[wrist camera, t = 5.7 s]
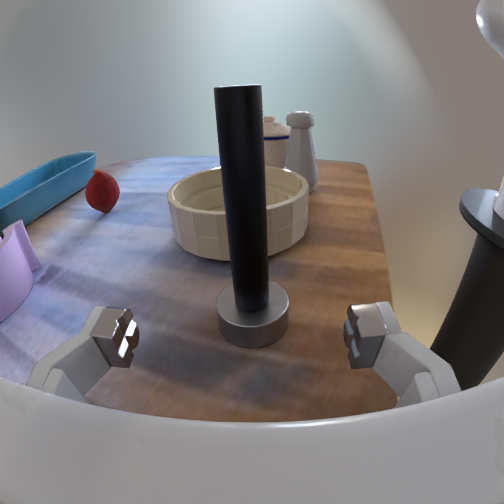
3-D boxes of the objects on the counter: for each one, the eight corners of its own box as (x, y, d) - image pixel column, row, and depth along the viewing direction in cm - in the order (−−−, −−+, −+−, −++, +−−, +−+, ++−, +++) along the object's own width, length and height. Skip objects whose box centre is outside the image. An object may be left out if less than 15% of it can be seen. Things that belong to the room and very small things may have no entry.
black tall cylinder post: (286, 298, 26) (284, 83, 17) (290, 347, 21) (293, 84, 12) (222, 299, 26) (197, 89, 17) (215, 348, 22) (174, 92, 12)
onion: (118, 202, 49) (108, 160, 45) (127, 211, 45) (117, 164, 41) (89, 214, 46) (77, 171, 42) (95, 224, 42) (82, 177, 38)
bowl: (298, 201, 44) (299, 163, 41) (315, 264, 30) (319, 211, 27) (190, 205, 45) (185, 168, 42) (160, 268, 31) (147, 218, 28)
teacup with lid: (296, 171, 56) (295, 113, 50) (297, 187, 49) (296, 119, 43) (235, 172, 58) (230, 115, 52) (226, 188, 50) (220, 121, 44)
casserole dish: (-3, 254, 37) (-18, 217, 33) (-33, 241, 43) (-44, 214, 39) (118, 174, 66) (112, 146, 62) (66, 177, 72) (61, 154, 68)
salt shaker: (308, 199, 45) (309, 114, 38) (276, 192, 47) (273, 112, 40) (323, 187, 48) (324, 111, 41) (293, 181, 51) (292, 109, 44)
